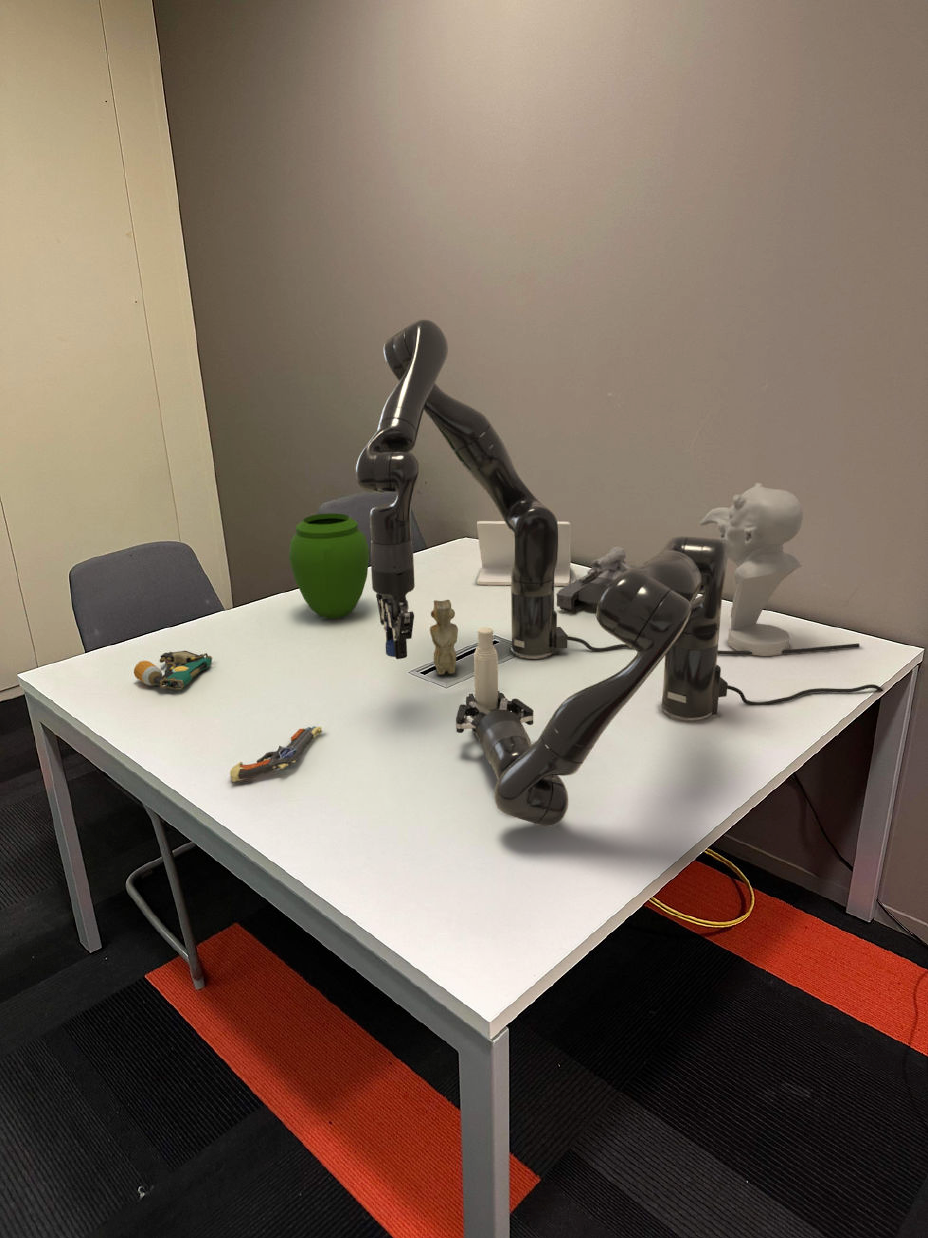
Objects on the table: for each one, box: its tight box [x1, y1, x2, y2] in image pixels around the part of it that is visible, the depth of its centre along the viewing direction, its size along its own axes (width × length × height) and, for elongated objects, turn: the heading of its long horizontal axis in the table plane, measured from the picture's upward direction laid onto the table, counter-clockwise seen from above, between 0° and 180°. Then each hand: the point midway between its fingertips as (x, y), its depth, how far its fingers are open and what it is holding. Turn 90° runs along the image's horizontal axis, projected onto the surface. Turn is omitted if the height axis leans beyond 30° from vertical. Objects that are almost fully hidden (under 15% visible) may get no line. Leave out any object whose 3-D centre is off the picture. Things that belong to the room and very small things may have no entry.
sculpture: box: [429, 599, 459, 675], centre depth 177 cm, size 6×7×15 cm
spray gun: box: [133, 650, 213, 690], centre depth 180 cm, size 4×17×15 cm
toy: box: [556, 546, 637, 613], centre depth 212 cm, size 25×20×15 cm
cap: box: [385, 639, 395, 658], centre depth 156 cm, size 4×4×2 cm
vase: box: [288, 512, 370, 620], centre depth 209 cm, size 20×20×24 cm
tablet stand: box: [476, 520, 572, 587], centre depth 236 cm, size 18×25×17 cm
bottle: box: [473, 626, 499, 738], centre depth 149 cm, size 4×4×20 cm
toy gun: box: [229, 725, 323, 782], centre depth 147 cm, size 3×19×10 cm
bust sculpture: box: [699, 482, 804, 657], centre depth 185 cm, size 16×24×35 cm
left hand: (396, 653), depth 157 cm, fingers closed on cap, 3 cm apart
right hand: (483, 697), depth 153 cm, fingers closed on bottle, 4 cm apart
